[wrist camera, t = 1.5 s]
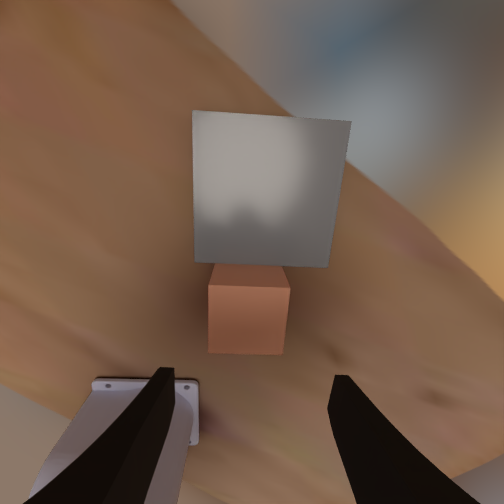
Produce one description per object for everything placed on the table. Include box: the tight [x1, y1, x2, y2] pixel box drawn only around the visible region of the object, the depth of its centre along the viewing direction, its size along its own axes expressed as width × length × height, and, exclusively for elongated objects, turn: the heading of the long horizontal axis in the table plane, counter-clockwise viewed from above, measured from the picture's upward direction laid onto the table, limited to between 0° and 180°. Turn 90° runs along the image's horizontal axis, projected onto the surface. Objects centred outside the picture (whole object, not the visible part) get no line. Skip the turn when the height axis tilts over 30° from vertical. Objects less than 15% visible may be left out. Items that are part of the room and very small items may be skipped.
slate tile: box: [192, 110, 351, 268], centre depth 18 cm, size 10×10×1 cm
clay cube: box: [208, 263, 290, 355], centre depth 18 cm, size 5×5×5 cm
